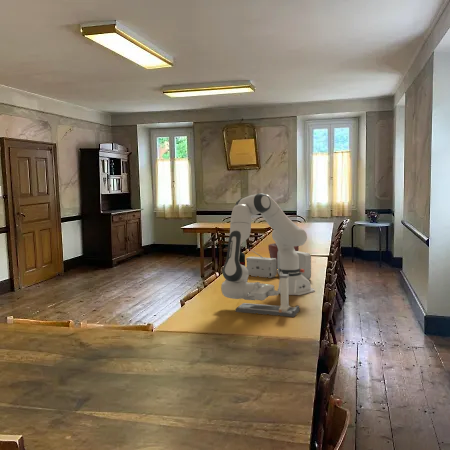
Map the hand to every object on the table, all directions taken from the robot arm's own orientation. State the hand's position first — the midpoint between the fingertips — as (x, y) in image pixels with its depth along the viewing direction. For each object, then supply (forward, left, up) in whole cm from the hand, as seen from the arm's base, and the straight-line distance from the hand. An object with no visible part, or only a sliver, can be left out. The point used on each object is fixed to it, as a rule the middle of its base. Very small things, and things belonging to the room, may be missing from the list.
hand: (278, 293), depth 226 cm
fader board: (+4, -4, -9) cm, 11 cm away
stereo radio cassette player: (-43, -81, -10) cm, 93 cm away
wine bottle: (-20, -71, -10) cm, 75 cm away
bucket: (-73, -96, -10) cm, 122 cm away
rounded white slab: (-60, -66, -10) cm, 90 cm away
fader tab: (-2, +2, -8) cm, 8 cm away
